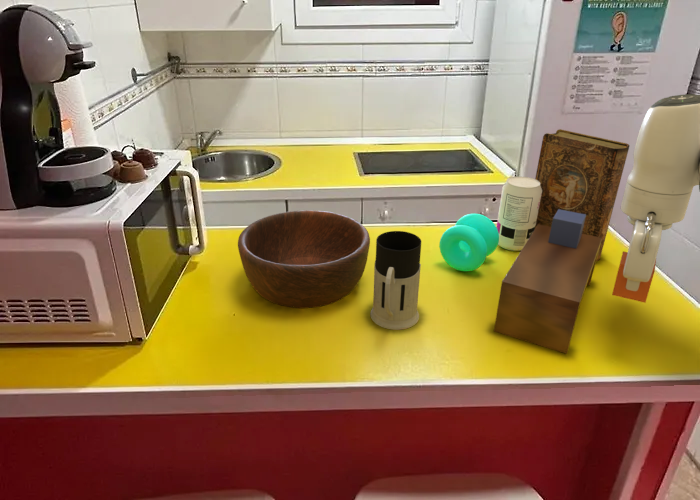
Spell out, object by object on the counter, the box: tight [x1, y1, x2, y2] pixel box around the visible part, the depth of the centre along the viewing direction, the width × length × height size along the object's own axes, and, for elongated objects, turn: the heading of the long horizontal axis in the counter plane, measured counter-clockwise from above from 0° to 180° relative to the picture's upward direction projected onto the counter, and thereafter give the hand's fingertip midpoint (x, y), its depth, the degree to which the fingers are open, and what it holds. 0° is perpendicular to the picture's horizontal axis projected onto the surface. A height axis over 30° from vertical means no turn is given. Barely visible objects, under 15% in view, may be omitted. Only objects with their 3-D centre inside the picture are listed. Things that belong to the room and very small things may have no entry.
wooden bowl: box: [237, 209, 371, 309], centre depth 101 cm, size 25×25×10 cm
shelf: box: [493, 224, 602, 355], centre depth 94 cm, size 12×26×10 cm, turn 150°
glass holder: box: [369, 230, 422, 331], centre depth 87 cm, size 9×14×15 cm, turn 166°
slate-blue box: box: [548, 209, 586, 249], centre depth 97 cm, size 5×5×5 cm
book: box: [534, 128, 630, 263], centre depth 112 cm, size 16×6×25 cm, turn 41°
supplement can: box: [496, 175, 542, 252], centre depth 115 cm, size 8×8×15 cm
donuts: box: [439, 213, 499, 272], centre depth 108 cm, size 10×10×10 cm
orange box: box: [611, 251, 657, 304], centre depth 86 cm, size 5×5×6 cm
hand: (633, 279), depth 87 cm, fingers closed on orange box, 5 cm apart
